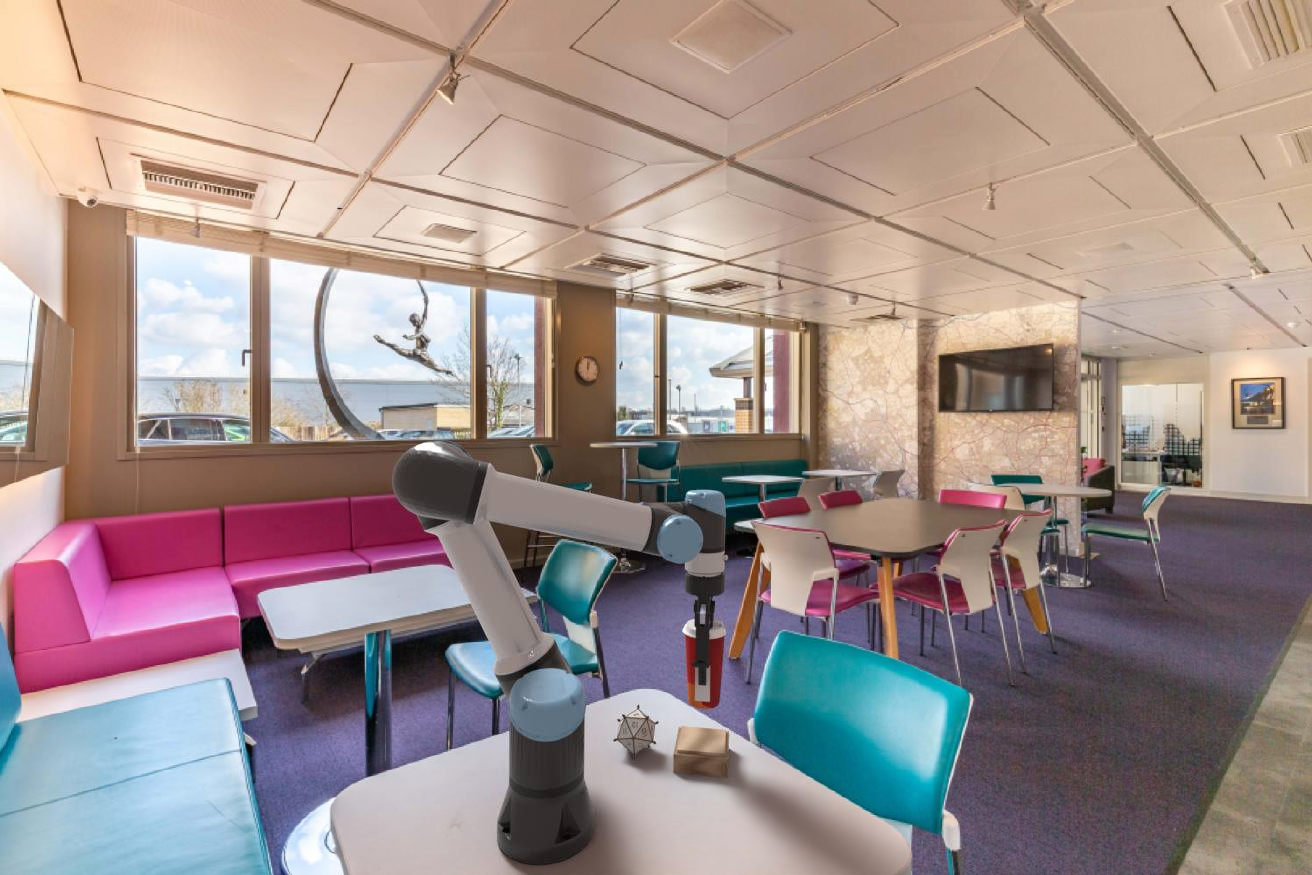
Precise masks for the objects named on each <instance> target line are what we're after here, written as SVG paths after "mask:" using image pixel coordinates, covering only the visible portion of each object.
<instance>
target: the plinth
mask: <svg viewBox="0 0 1312 875" xmlns="http://www.w3.org/2000/svg"><path fill="white" fill-rule="evenodd" d="M674 744H675V745H674V748H673V749H674V750H673V756H672V757H673V759H672V760H673V764H672V765H673V766H672V768H673V769H672V773H678V774H686V775H687V774H688V775H689V774H690V775H698V776H708V777H709V776H710V777H721V778H729V755H730V750H729V748H730V731H729V730H727V729H724V728H723V729H721V728H709V727H697V726H686V725H684V726H683V725H681V726H678V729H677V734H676V740H675V743H674Z"/></svg>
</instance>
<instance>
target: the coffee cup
mask: <svg viewBox="0 0 1312 875" xmlns="http://www.w3.org/2000/svg"><path fill="white" fill-rule="evenodd" d="M694 620H695V618H692V619H690V620H688V621H687V622H686V624H684V625H683V626H684V627H683V629H682V633H683V634H684V642H685V663H686V680H687V681H686V682H687V683H686V684H687V698H688V703H689V705H690V706H691V707H693V708H697V709H701V710H710V709H714V708H717V707H718V706H719V705H720V703H721V702H720V700H721V692H722V691H721V689H722V679H723V663H724V653H725V651H724V650H725V636H726V634H727V630H726V628H725V624H724V622H722V621H721V620H718V619H715V618H714V620H713V627H712V628H711V629H710V630H709V634H710V637H709V639H710V654H709V662H710V702H705V701H695V667H692V663H695V645H696V627H695V626H694Z"/></svg>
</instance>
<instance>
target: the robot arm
mask: <svg viewBox="0 0 1312 875" xmlns="http://www.w3.org/2000/svg"><path fill="white" fill-rule="evenodd" d="M391 485H392V486H391V487H392V490H393V493H394V495H395V498H396V499H397V501H398V502H399V504H400V505H401V506H403V508H404V509H406V510H407V511H408V512H411V513H412V514H413V515H414V514H415V515H416V517H417V520H418V521H419V523H420V525H421V527H422V529H423V531H424V532H425V533H429V534H432V535H435V536H437V538H438V540H439V542H440V544H441V545H442V548H443V550H444V552H445V555H446V556H447V558H448V560H449V562H450V564H451V566H452V568H453V570H454V573H455V574H456V576H457V579H458V580H459V583H460V584H461V587H462V589H463V591H464V592H465V595H466V597H467V599H468V601H469V604H470V605H471V608H472V609H473V611H474V613H475V616H476V617H477V620H478V622H479V623H480V626H481V627H482V630H483V632H484V634H485V636H486V638H487V640H488V642H489V644H490V646H491V648H492V650H493V652H494V654H495V661H494V663H493V667H492V671H493V673H494V675H495V678H496V679H497V682H498V684H499V686H500V687H501V690H502V692H503V694H504V696H505V698H506V701H507V706H508V707H507V708H508V709H507V710H508V729H509V730H508V732H509V733H508V734H509V735H508V736H509V740H508V742H509V744H508V745H509V746H508V750H509V751H508V752H509V753H508V774H509V775H508V787H507V790H506V793H505V796H504V799H503V801H502V806H501V808H500V811H499V814H498V817H497V821H496V822H497V823H496V840H497V845H498V847H499V848H500V851H502V853H504V854H505V855H506V857H509V858H510V859H512V860H515V861H517V862H520V863H524V864H529V865H530V864H531V865H546V864H553V863H557V862H561V861H563V860H566V859H569V858H571V857H572V856H575V855H576V854H577V853H580V852H581V851H582V850H583V849H584V848H585V847H587V845H588V844H589V843H590V842H591V840H592V839H593V836H594V833H595V827H596V826H595V825H596V824H595V823H596V820H595V817H596V815H595V807H594V804H593V801H592V798H591V795H590V793H589V789H588V786H587V782H586V781H585V730H586V729H585V727H586V725H585V718H586V710H587V701H586V700H587V698H586V695H585V693H586V692H585V687H584V685H583V683H582V681H581V679H580V678H579V677H577V675H575V674H573V669H572V668H571V664H570V663H569V661H568V660H567V658H566V657H565V656H564V654H563V653H562V651H561V650H560V647H559V644H558V643H557V642H556V639H555V637H554V635H553V634H552V633H548V632H544V631H542V630H541V628H540V625H539V624H538V622H537V619H536V617H535V615H534V613H533V611H532V609H531V606H530V605H529V602H528V600H527V599H526V596H525V594H524V592H523V590H522V588H521V585H520V583H519V582H518V579H517V577H516V575H515V573H514V572H513V569H512V567H511V565H510V562H509V561H508V559H507V557H506V553H505V552H504V550H503V548H502V546H501V544H500V542H499V539H498V537H497V535H496V534H495V531H494V529H493V527H492V524H491V523H490V522H492V523H493V522H494V523H498V524H501V525H507V526H513V527H517V528H521V529H522V528H524V529H527V530H533V531H538V532H542V533H548V534H553V535H556V536H557V535H558V536H562V537H567V538H572V539H576V540H581V541H582V540H583V541H587V542H591V543H592V542H593V543H597V544H601V545H607V546H611V547H617V548H622V549H626V550H631V551H636V552H640V553H644V554H649V555H652V556H657V557H662V558H663V559H665V560H666V561H668V562H671V563H674V564H684V570H685V571H686V573H685V574H684V591H685V592H686V593H687V594H688V595H691V596H695V597H697V599H694V603H693V613H694V619H695V620H694V626H695V627H696V645H695V663H692V667H695V701H705V702H710V662H709V654H710V639H709V637H710V634H709V630H710V629H711V628H712V627H713V620H714V619H715V611H716V600H713V598H714V597H719V596H721V595H723V594H724V592H725V588H726V587H725V584H726V583H725V580H726V578H725V577H726V575H725V574H724V571H725V566H726V565H725V561H728V560H729V556H728V554H725V550H726V545H725V544H726V543H725V542H726V518H727V512H726V509H727V508H726V500H725V496H724V494H723V493H722V492H721V491H720V490H719V491H718V490H712V489H696V490H695V489H693V490H688V491H687V492H686V494H685V498H684V501H677V502H674V501H673V502H644V501H641V502H637V503H635V502H631V501H626V500H621V499H617V498H613V497H609V496H604V495H600V494H597V493H596V494H595V493H591V492H588V491H583V490H580V489H579V490H578V489H574V488H570V487H566V486H561V485H556V484H552V483H548V482H544V481H540V480H535V479H531V478H526V477H522V476H517V475H513V474H510V473H509V474H508V473H504V472H500V471H497V470H496V469H495V467H494V466H493V464H492V463H491V462H486V461H482V460H477V459H474V458H472V455H471V454H470V453H469V452H468V451H467V450H466V449H465V448H463V446H461V445H460V444H458V443H455V442H454V441H450V440H447V439H432V440H429V441H426V442H422V443H420V444H417V445H415V446H412V447H411V448H409V449H407V450H406V451H405V452H404V453H403V454H402V455H401V456H400V458H399V459H397V462H396V464H395V466H394V468H393V470H392V475H391Z"/></svg>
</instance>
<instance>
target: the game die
mask: <svg viewBox="0 0 1312 875" xmlns="http://www.w3.org/2000/svg"><path fill="white" fill-rule="evenodd" d="M621 717H622V719H620V718H617V719H616V721H617V722H618V723H619V725H618V730H617V735H616V738H613V740H612V742H617V741H618V743H620V744H621V745H622V746H623V747H624V748H625V749H627V750H628V751H629V752H630V753H631V754H632V758H633V760H635V759H636V755H637V754H638V753H639V752H641V751H642V750H644V749H645V748H647V749H651V745H652V744H653V745H657V742H656V741H655V740H654V738H655V730H656V725H658V724H659V723H660V721H658V720H657V721H654V720H653V719H652V718H650V716H649V715H647V714H645V713H644V712H643V711H642V710H641V709H640V704H639V703H638V704H637V706H636V709H635V710H633V711H631V712H630V713H629V714H627V715H626V714H625V713H624V714H621Z"/></svg>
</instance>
